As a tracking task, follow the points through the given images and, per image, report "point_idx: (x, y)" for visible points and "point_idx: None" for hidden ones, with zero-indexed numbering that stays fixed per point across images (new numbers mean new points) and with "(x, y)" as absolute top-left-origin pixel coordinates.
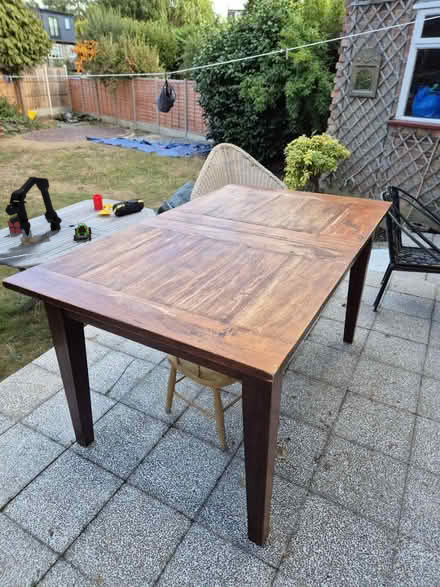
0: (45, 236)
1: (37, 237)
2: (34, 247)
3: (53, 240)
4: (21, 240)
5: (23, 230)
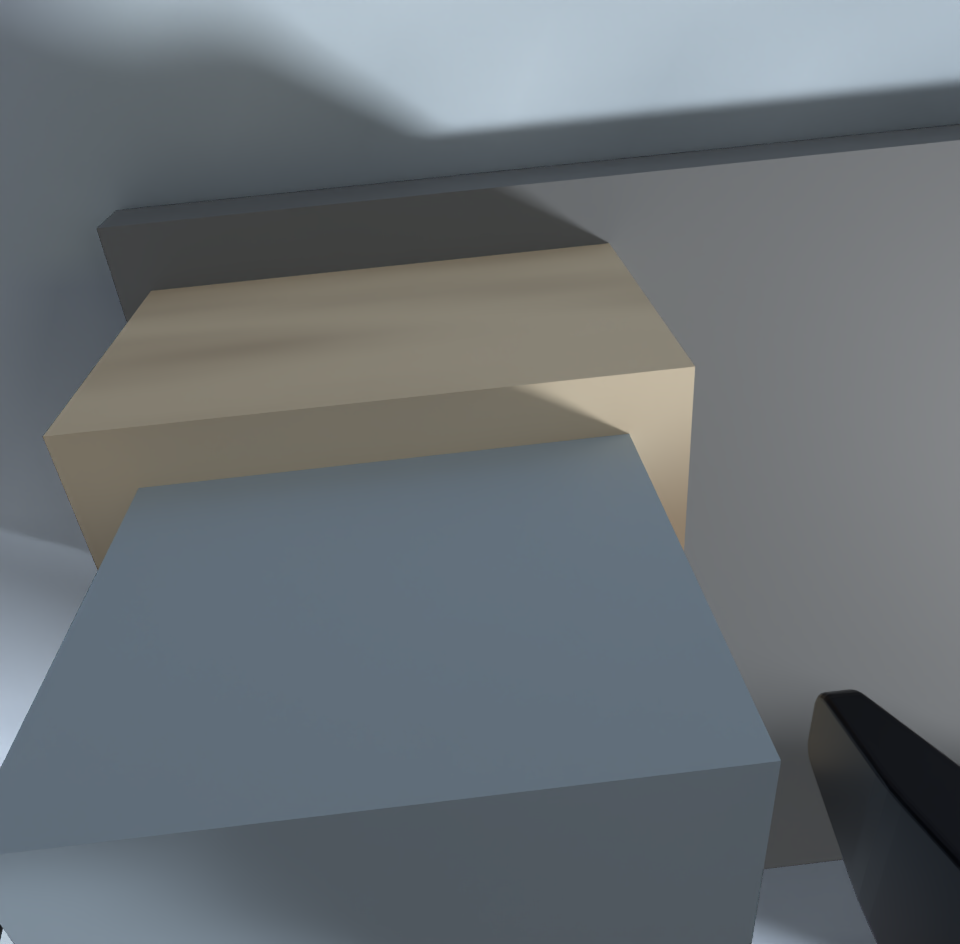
0: (789, 823)
1: (839, 670)
2: (6, 579)
3: None
4: (872, 174)
5: (428, 903)
